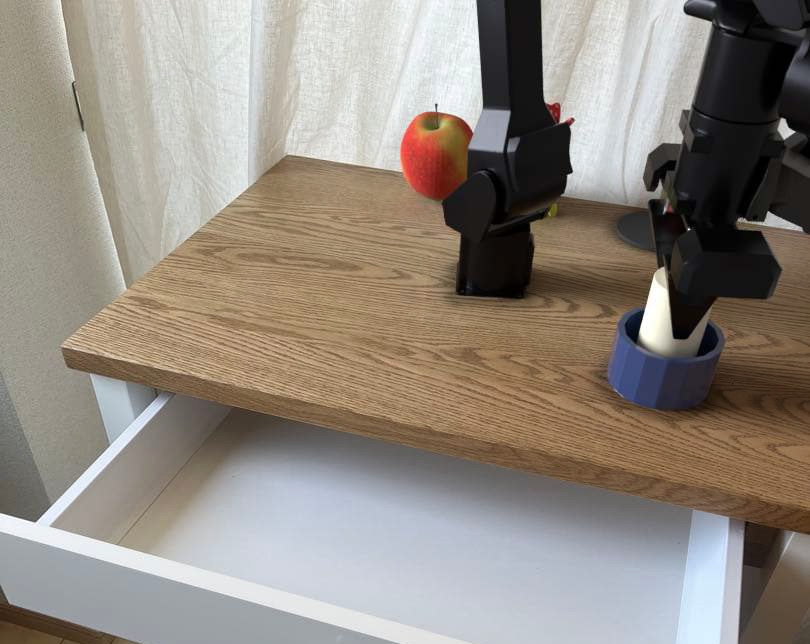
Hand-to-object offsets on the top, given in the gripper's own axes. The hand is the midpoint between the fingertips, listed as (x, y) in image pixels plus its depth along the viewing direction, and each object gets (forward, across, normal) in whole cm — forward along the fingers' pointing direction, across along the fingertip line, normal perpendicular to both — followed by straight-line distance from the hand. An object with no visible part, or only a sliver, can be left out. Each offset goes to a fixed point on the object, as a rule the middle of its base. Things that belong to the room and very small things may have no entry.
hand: (674, 320), depth 65 cm
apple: (+6, +34, +20) cm, 40 cm away
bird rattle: (+6, +33, +9) cm, 35 cm away
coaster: (+6, +28, -4) cm, 29 cm away
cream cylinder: (+6, 0, 0) cm, 6 cm away
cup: (+6, 0, 0) cm, 6 cm away
